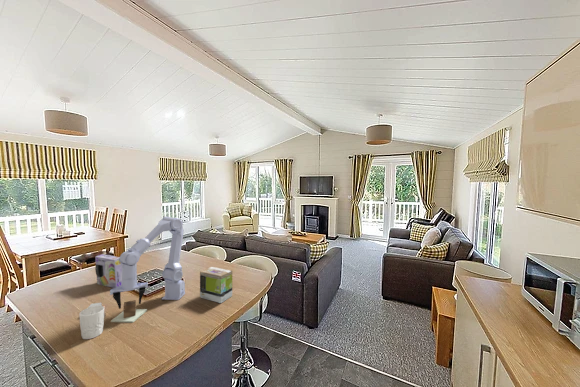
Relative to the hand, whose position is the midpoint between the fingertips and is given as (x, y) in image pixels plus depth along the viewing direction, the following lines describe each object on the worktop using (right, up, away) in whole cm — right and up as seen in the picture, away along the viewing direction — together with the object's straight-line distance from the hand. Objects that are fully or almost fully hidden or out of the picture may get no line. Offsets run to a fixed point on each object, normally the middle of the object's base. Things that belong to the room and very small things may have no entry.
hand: (130, 305), depth 110 cm
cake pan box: (-35, -3, +32) cm, 47 cm away
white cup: (-6, -6, -13) cm, 16 cm away
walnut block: (0, -4, 0) cm, 4 cm away
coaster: (0, -5, 0) cm, 5 cm away
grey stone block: (-18, -5, +2) cm, 19 cm away
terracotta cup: (-13, -5, -1) cm, 14 cm away
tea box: (+34, -5, +20) cm, 40 cm away
